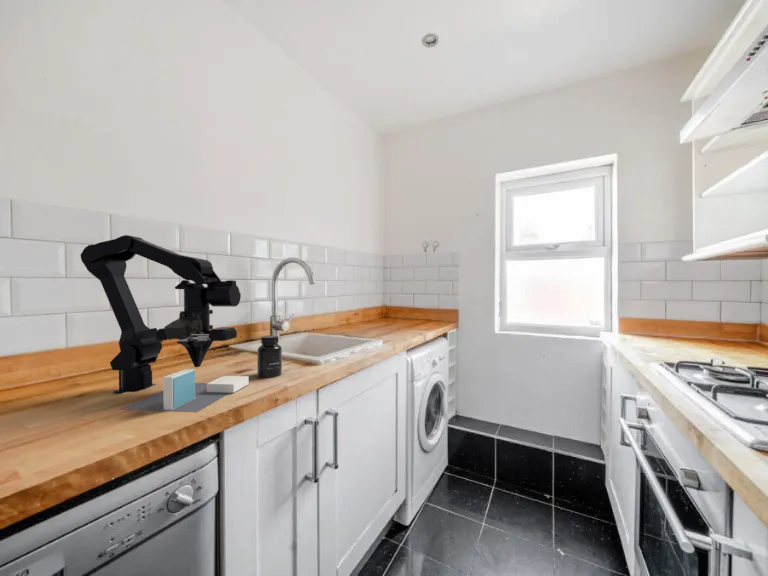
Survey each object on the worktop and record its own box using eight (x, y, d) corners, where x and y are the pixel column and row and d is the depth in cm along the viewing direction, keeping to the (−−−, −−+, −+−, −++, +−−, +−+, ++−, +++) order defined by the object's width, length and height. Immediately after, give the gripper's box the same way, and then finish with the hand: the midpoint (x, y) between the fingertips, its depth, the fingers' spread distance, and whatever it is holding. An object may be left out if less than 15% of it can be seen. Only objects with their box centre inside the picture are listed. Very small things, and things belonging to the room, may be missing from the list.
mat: (118, 412, 67) (118, 409, 67) (183, 384, 86) (183, 382, 86) (197, 414, 66) (197, 411, 66) (245, 386, 85) (245, 383, 85)
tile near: (163, 409, 67) (163, 377, 67) (187, 398, 74) (186, 368, 74) (173, 410, 67) (172, 377, 67) (195, 398, 74) (195, 368, 74)
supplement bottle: (274, 380, 89) (273, 338, 89) (252, 379, 91) (252, 338, 91) (286, 374, 96) (285, 335, 96) (266, 373, 97) (265, 334, 97)
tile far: (206, 383, 78) (233, 384, 77) (223, 375, 85) (248, 376, 84) (206, 392, 78) (233, 393, 77) (223, 384, 85) (248, 384, 84)
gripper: (136, 308, 74) (137, 374, 75) (210, 309, 73) (211, 376, 73) (172, 306, 86) (173, 363, 86) (237, 306, 84) (238, 364, 84)
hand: (197, 366), depth 82 cm, fingers closed
